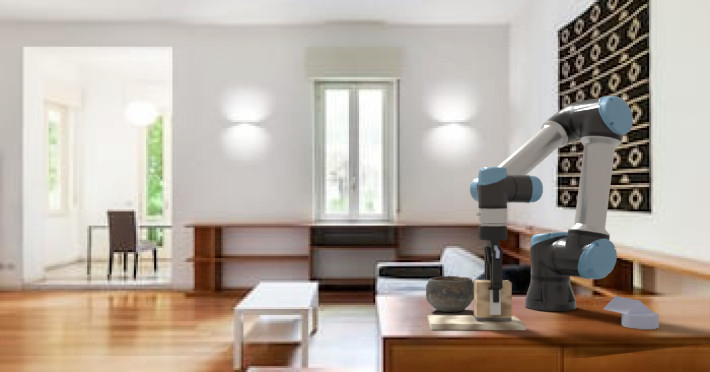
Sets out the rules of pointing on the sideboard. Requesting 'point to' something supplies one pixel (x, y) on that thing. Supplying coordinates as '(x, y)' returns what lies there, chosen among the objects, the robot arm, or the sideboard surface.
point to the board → (471, 323)
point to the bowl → (450, 293)
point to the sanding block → (484, 301)
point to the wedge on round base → (633, 313)
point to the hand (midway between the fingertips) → (493, 312)
